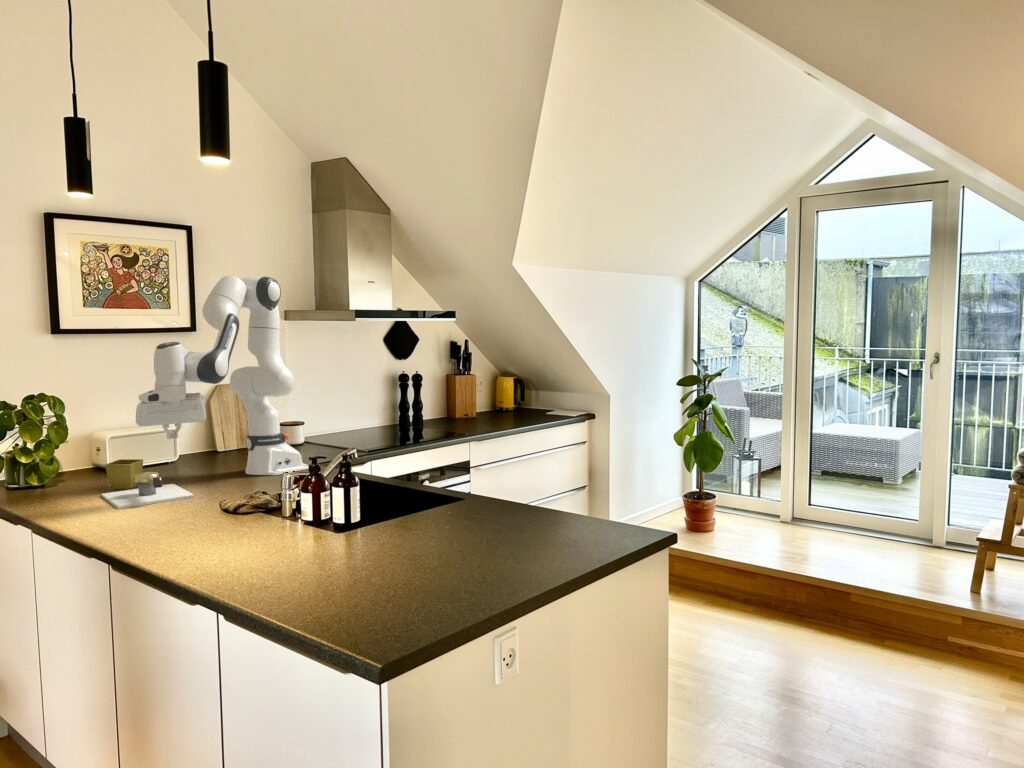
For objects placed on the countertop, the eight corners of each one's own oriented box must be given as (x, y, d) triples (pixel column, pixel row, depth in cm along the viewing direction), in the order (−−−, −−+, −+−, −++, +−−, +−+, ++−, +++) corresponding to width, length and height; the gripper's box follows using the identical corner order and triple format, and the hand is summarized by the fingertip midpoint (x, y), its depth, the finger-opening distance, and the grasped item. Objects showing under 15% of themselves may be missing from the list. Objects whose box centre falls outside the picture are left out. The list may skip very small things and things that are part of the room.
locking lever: (132, 480, 242) (131, 471, 242) (155, 477, 247) (155, 468, 247) (146, 489, 229) (146, 480, 229) (171, 485, 234) (170, 476, 233)
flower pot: (131, 490, 251) (130, 464, 250) (105, 491, 251) (104, 464, 251) (145, 485, 260) (143, 459, 259) (120, 485, 260) (118, 459, 259)
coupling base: (173, 485, 258) (172, 471, 257) (194, 497, 241) (193, 481, 241) (101, 496, 244) (100, 480, 243) (118, 508, 227) (117, 492, 227)
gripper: (201, 391, 246) (203, 433, 247) (133, 395, 232) (135, 440, 234) (208, 392, 241) (209, 436, 242) (138, 397, 228) (140, 442, 229)
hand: (172, 438), depth 238 cm, fingers closed
